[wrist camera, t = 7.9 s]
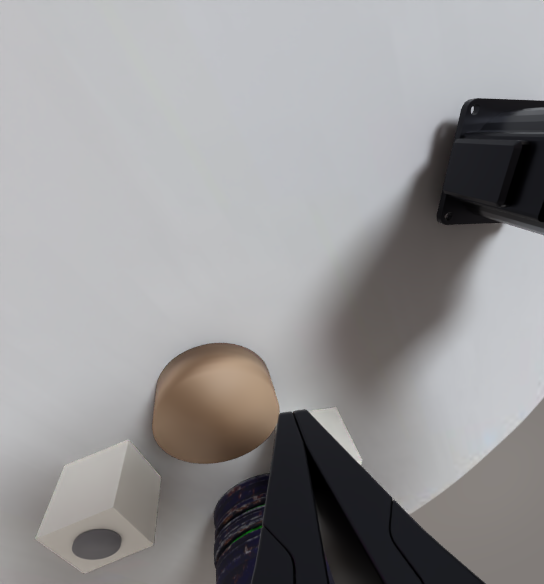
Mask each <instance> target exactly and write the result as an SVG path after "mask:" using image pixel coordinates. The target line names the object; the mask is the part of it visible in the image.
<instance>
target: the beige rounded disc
mask: <svg viewBox="0 0 544 584" xmlns="http://www.w3.org/2000/svg"><path fill="white" fill-rule="evenodd" d="M278 416H279V404H278V400H277V397H276V394H275V390H274V387H273V384H272V381H271V378H270V374H269V371H268V369H267V366H266V364H265V363H264V361H263V360H262V359H261V358H260V357H259V356H258V355H257V354H256V353H254V352H253V351H251V350H249V349H247V348H245V347H242V346H239V345H235V344H229V343H212V344H206V345H201V346H198V347H194V348H192V349H189V350H187V351H185V352H183V353H182V354H180V355H178V356H177V357H176V358H174V359H173V360H172V361H171V362H170V363H169V364H168V365H167V366H166V367H165V368H164V370H163V371H162V373H161V374H160V377H159V379H158V382H157V387H156V395H155V404H154V413H153V422H152V430H153V435H154V438H155V440H156V442H157V444H158V445H159V446H160V447H161V448H162V449H163V450H164V451H165V452H166V453H168V454H169V455H171V456H172V457H175V458H177V459H179V460H183V461H186V462H191V463H199V464H209V463H219V462H224V461H228V460H232V459H235V458H238V457H240V456H243V455H245V454H247V453H249V452H251V451H252V450H254V449H255V448H257V447H258V446H259V445H261V444H262V443H263V442H264V441H265V440H266V439H267V438H268V437H269V436H270V434H271V433H272V432H273V430H274V429H275V427H276V424H277V422H278Z"/></svg>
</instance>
